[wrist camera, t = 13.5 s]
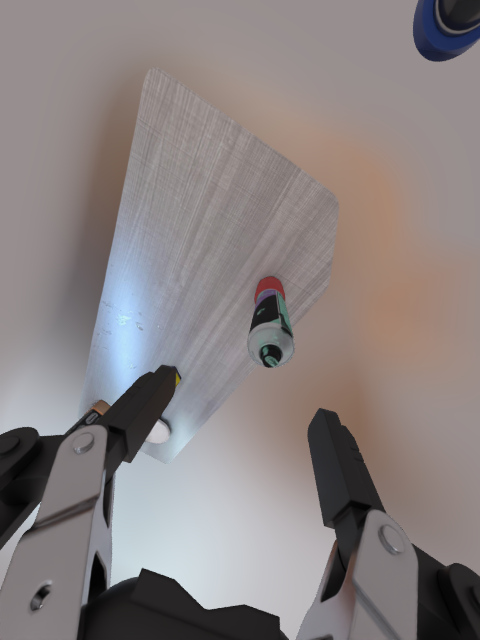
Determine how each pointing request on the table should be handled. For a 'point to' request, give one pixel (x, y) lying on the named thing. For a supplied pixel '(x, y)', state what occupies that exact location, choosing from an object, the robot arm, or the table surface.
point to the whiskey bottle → (90, 416)
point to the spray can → (270, 331)
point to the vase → (159, 433)
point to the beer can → (269, 286)
